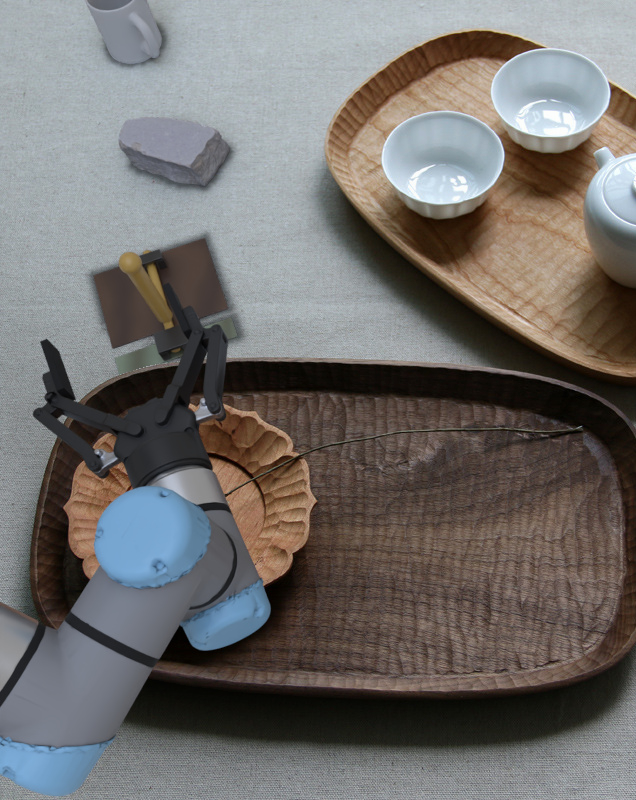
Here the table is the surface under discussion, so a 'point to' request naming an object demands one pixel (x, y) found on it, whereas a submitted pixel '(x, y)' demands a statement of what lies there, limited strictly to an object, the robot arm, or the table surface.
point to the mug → (127, 29)
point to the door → (192, 285)
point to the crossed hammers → (147, 286)
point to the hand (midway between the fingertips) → (110, 318)
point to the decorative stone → (174, 148)
